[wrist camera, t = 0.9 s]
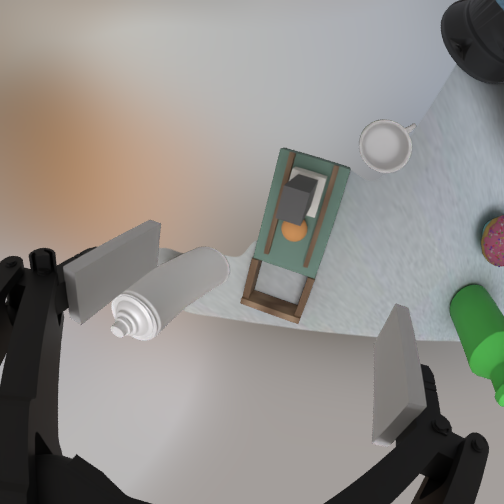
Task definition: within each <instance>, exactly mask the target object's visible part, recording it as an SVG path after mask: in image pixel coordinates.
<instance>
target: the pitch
mask: <svg viewBox="0 0 504 504" xmlns="http://www.w3.org/2000/svg"><path fill="white" fill-rule="evenodd" d="M290 152H295V153H296V156H295V160H294V164H293V167H292V169H293V168H294V167H299V168H303V169H306V170H309V171H313V172H316V173H319V174H322V175H325V176H328V177H327V180H326V184H325V187H324V190H323V194H322V197H321V200H320V204H319V207H318V210H317V213H316V216H315V218H313V217H310V216H307V215H306V216H305V218H304V220H305V222H306V224H307V234H306V236H305V237H304V238H303V239H302V240H300V241H297V242H292V241H289V240H287V239H286V238H285V237H284V236H283V234H282V230H281V227H282V223H283V220H280V219H279V220H278V224H277V228H276V231H275V235H274V239H273V242H272V246H271V250H270V253H269V254H268V255H267V254H264V249H265V246H266V242H267V238H268V234H269V230H270V227H271V223H272V219H273V215H274V211H275V207H276V203H277V200H278V196H279V192H280V188H281V184H282V180H283V176H284V172H285V169H286V165H287V161H288V157H289V153H290ZM334 165H338V166H340V167H339V170H338V173H337V177H336V180H335V184H334V187H333V190H332V194H331V197H330V200H329V203H328V207H327V210H326V213H325V216H324V219H323V223H322V226H321V229H320V232H319V235H318V238H317V241H316V244H315V247H314V250H313V253H312V256H311V259H310V262H309V265H308V268H305V267H303V264H304V261H305V258H306V255H307V252H308V249H309V246H310V243H311V240H312V237H313V234H314V231H315V227H316V224H317V221H318V218H319V215H320V211H321V208H322V205H323V202H324V198H325V195H326V192H327V188H328V185H329V181H330V178H331V175H332V171H333V168H334ZM291 172H292V171H291ZM349 173H350V167H347V166H344V165H341V164H338V163H335V162H331V161H328V160H325V159H322V158H319V157H315V156H312V155H308V154H305V153H302V152H298V151H294V150H291V149H287V148H281V149H280V153H279V157H278V161H277V165H276V169H275V173H274V177H273V181H272V185H271V189H270V193H269V197H268V201H267V205H266V209H265V213H264V217H263V221H262V225H261V229H260V233H259V237H258V241H257V245H256V249H255V253H254V257H253V258H256V259H259V260H262V261H264V262H267V263H270V264H273V265H276V266H279V267H282V268H285V269H288V270H291V271H293V272H296V273H299V274H302V275H305V276H308V277H311V278H314V279H315V276H316V273H317V270H318V267H319V265H320V262H321V259H322V256H323V253H324V250H325V247H326V245H327V242H328V239H329V236H330V233H331V230H332V227H333V224H334V221H335V218H336V215H337V211H338V208H339V205H340V202H341V199H342V196H343V193H344V189H345V186H346V183H347V179H348V176H349ZM290 176H291V175H290ZM289 180H290V179H289Z"/></svg>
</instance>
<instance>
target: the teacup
mask: <svg viewBox="0 0 504 504" xmlns="http://www.w3.org/2000/svg"><path fill="white" fill-rule="evenodd" d="M415 128H416V124H412V125H410V126H408V127H406V128H403V127H402V126H401V125H400V124H398V123H396V122H394V121H391V120H377V121H374V122H372V123H371V124H369V125H368V126H366V127H365V128H364V130H363V131H362V133H361V136H360V140H359V149H360V154H361V156H362V158H363V160H364V162H365V163H366V164H367V165H368V166H369V167H370V168H372V169H373V170H375V171H378V172H381V173H392V172H395V171H398V170H400V169H401V168H402V167H404V166H405V165H406V163H407V162H408V160H409V158H410V156H411V152H412V142H411V138H410V136H409V133H410V132H411V131H412V130H413V129H415Z"/></svg>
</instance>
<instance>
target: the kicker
mask: <svg viewBox="0 0 504 504" xmlns="http://www.w3.org/2000/svg"><path fill="white" fill-rule="evenodd" d="M327 177H328V176H325V175H322V174H319V173H316V172H313V171H309V170H306V169H303V168H299V167H294V168H293V169H292V172H291V176H290V180H289V182H287V183H286V184H285V185H284V187H283V191H282V195H281V199H280V202H279V206H278V210H277V214H276V218H277V219H280V220H283V221H286V222H289V223H292V224H295V225H298V226H301V224H302V222H303V220H304V218H305V216H306V215H307V216H310V217H313V218H315V216H316V213H317V210H318V207H319V204H320V200H321V197H322V194H323V190H324V187H325V184H326V180H327Z"/></svg>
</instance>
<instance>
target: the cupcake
mask: <svg viewBox="0 0 504 504" xmlns="http://www.w3.org/2000/svg"><path fill="white" fill-rule="evenodd" d="M481 246H482V253H483V255H484V257H485V258H486V259H487V261H488V262H489V263H491V264H493V265H495V266H498V267H500V266H504V215H502V216H500V217H497V218H494V219H492V220H490V221H488V222H487V223H486V224H485V226H484V228H483V231H482V240H481Z"/></svg>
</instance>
